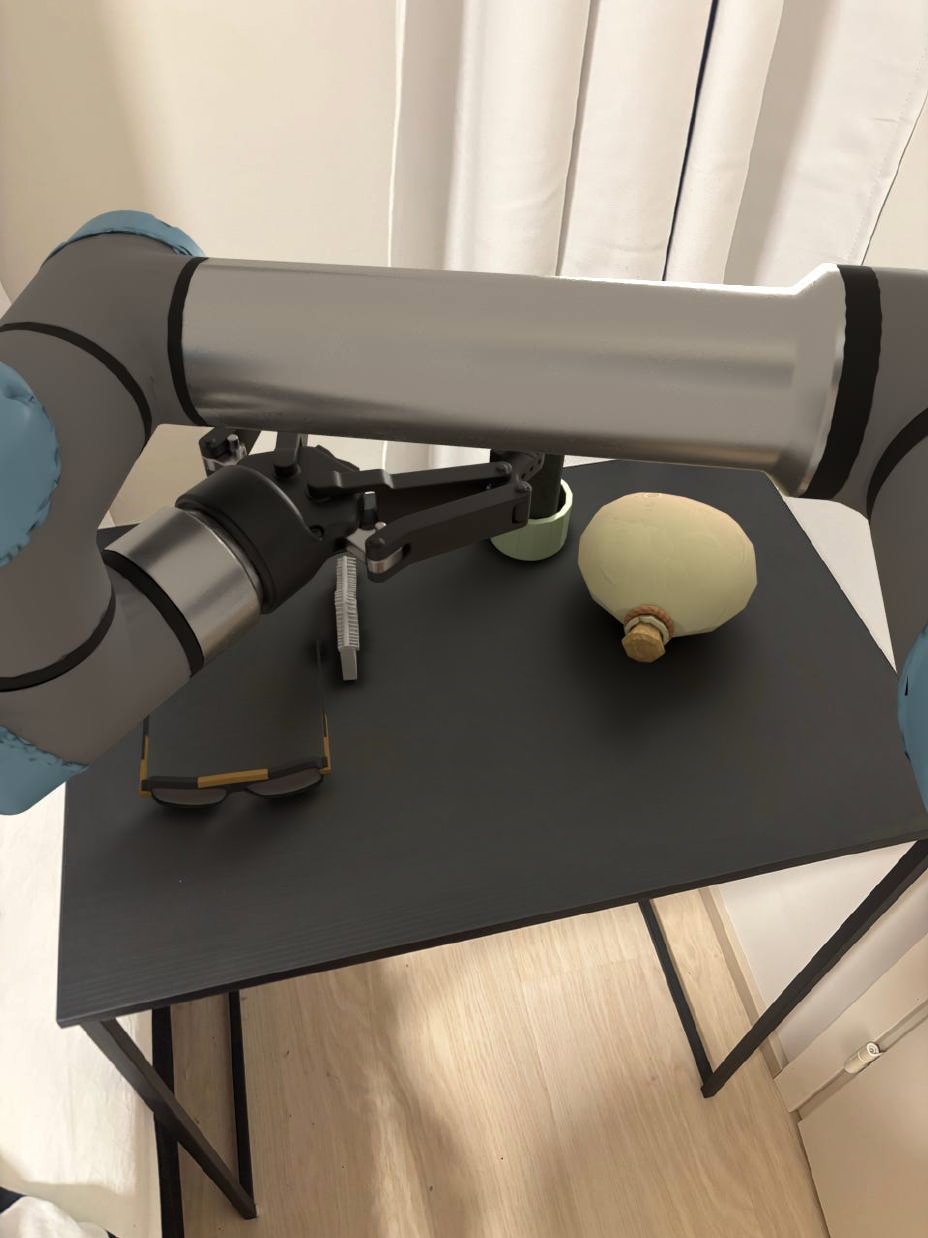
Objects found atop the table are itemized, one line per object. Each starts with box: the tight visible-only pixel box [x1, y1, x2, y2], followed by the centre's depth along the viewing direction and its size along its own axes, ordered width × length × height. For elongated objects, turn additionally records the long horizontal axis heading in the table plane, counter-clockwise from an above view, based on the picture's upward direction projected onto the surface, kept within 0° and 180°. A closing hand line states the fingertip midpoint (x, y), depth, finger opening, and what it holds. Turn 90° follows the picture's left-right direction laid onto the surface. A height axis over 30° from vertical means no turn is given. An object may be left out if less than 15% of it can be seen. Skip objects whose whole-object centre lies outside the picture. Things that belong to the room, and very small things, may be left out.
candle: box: [526, 454, 566, 520], centre depth 80 cm, size 5×5×25 cm
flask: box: [577, 491, 758, 663], centre depth 81 cm, size 9×16×18 cm
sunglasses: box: [138, 638, 332, 810], centre depth 73 cm, size 14×15×5 cm
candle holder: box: [489, 478, 573, 562], centre depth 89 cm, size 8×8×5 cm
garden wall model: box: [334, 555, 360, 681], centre depth 80 cm, size 12×2×6 cm, turn 6°
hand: (470, 371), depth 58 cm, fingers open, 13 cm apart
